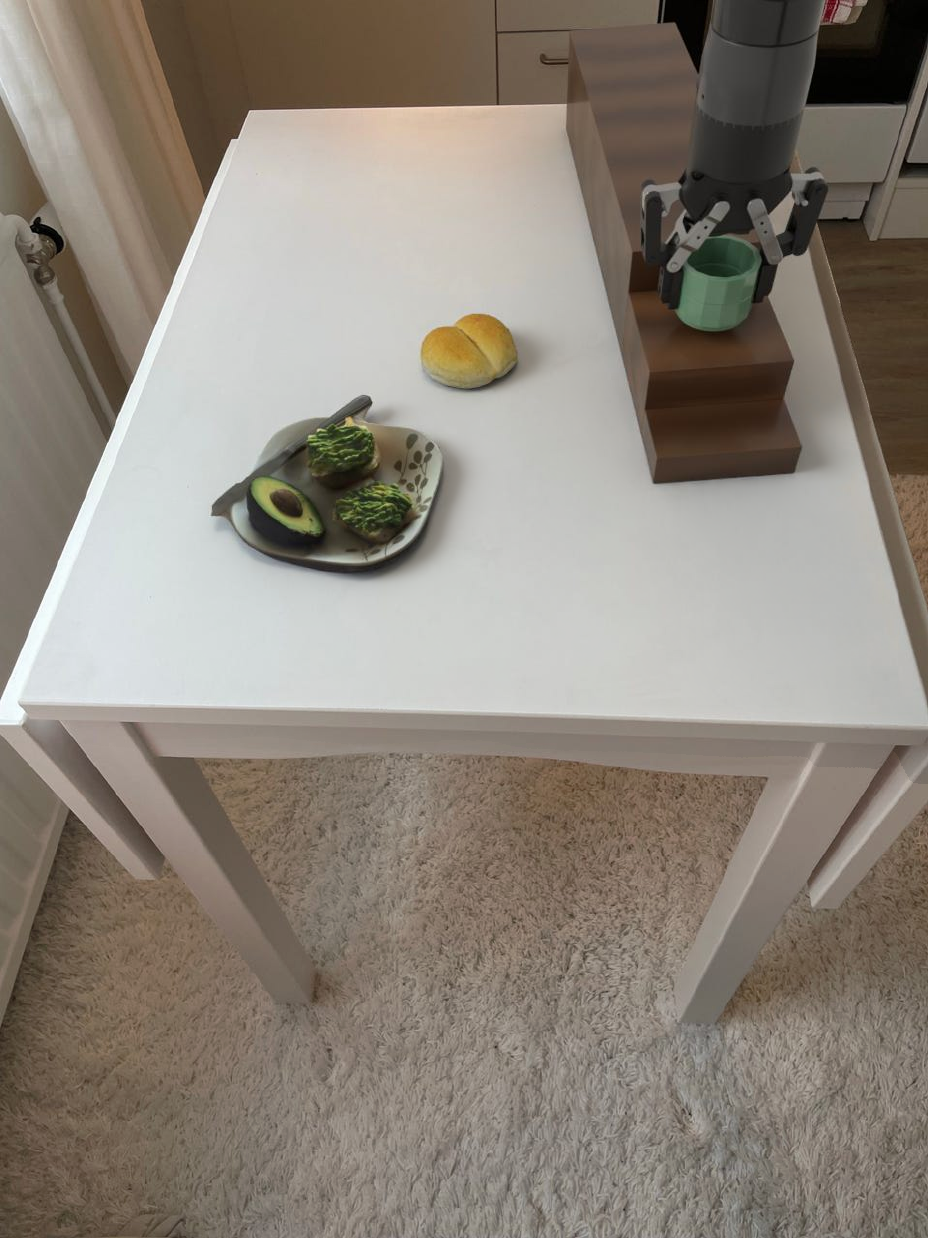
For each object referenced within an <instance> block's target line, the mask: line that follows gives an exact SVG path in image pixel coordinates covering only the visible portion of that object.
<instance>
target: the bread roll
mask: <svg viewBox="0 0 928 1238" xmlns="http://www.w3.org/2000/svg"><path fill="white" fill-rule="evenodd" d="M518 356H519V355H518V350H517V348H516V345H515V341H514V338H513V335H512V333H511V331H510V328H508V327H507V326H506V325H505V324H504V323H503V322H502V321H501V320H499V319H498V318H496V317H495V316H493V315H490V314H486V313H470V314H466V315H464V316H462V317H461V318H460V319H458V320H457V321H456V322H455V323H454V325H452V326H450V325H449V326H447V325H446V326H439V327H436V328H435V329H432V330H431V331H430V332H428V334H427V335H425V337H424V339H423V341H422V343H421V347H420V361H421V366H422V368H423V370H424V372H425V374H426V375H427V376H428V377H429V378H430V379H432V380H433V381H435V382H437V383H439V384H441V385H442V386H448V387H452V388H458V389H467V390H469V389H475V388H480V387H483V386H485V385H488V384H490V383H492V381H493V380H494V379H495V380H496V379H499V378H502V377H503V376H505V375H507V374H508V373H509V372H510V371H511V370H512V369H513V367H514V366H515V365H516V364H517V361H518V359H519V357H518Z"/></svg>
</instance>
